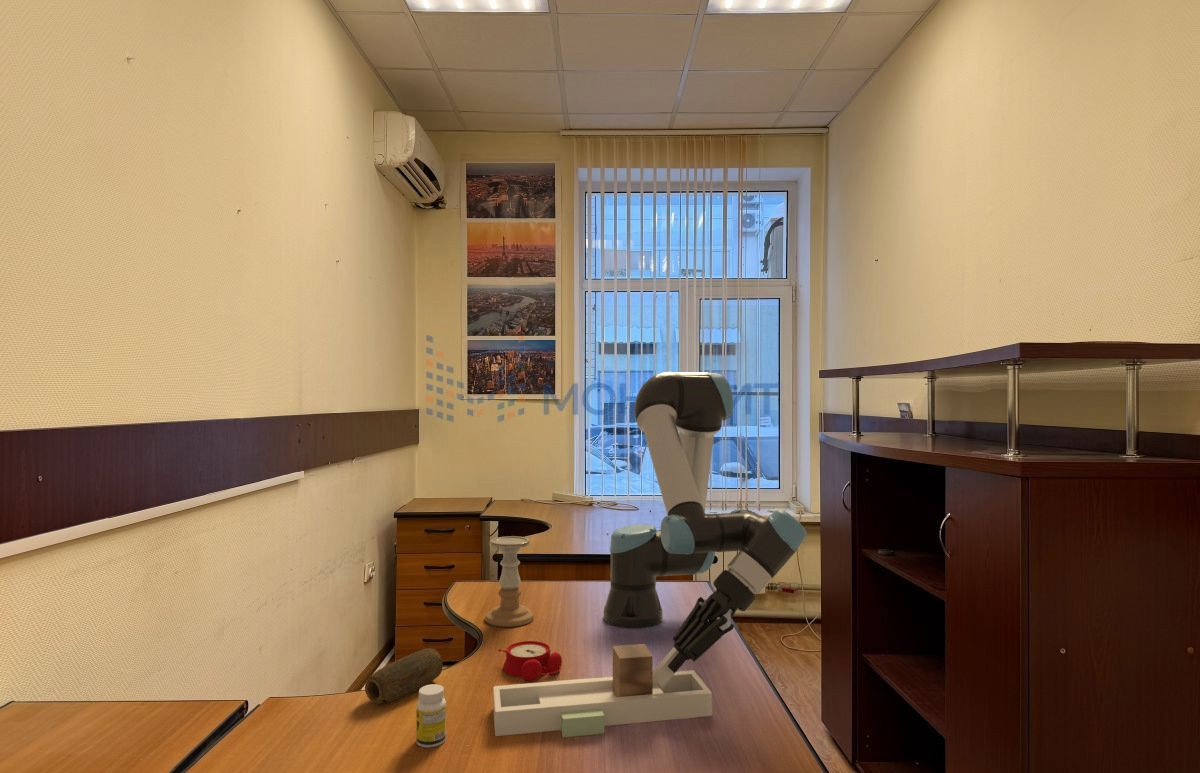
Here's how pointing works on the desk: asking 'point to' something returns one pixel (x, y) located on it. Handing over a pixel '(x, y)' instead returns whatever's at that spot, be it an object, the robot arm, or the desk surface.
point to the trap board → (596, 703)
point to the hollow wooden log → (404, 676)
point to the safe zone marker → (582, 722)
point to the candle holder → (509, 585)
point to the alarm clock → (531, 660)
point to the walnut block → (632, 670)
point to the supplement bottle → (431, 716)
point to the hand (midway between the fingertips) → (656, 681)
